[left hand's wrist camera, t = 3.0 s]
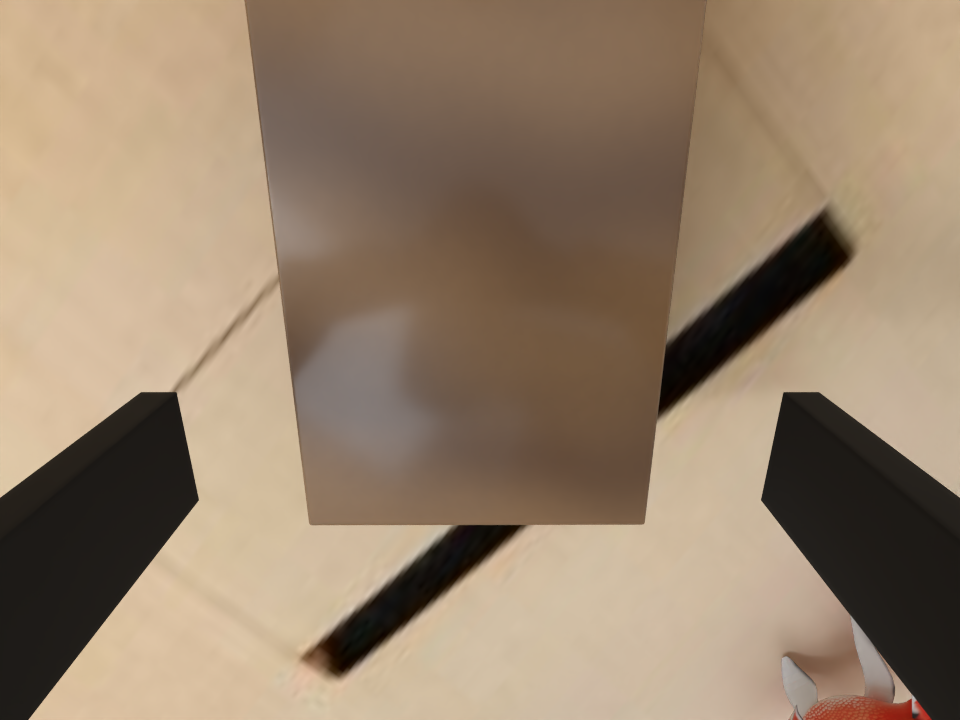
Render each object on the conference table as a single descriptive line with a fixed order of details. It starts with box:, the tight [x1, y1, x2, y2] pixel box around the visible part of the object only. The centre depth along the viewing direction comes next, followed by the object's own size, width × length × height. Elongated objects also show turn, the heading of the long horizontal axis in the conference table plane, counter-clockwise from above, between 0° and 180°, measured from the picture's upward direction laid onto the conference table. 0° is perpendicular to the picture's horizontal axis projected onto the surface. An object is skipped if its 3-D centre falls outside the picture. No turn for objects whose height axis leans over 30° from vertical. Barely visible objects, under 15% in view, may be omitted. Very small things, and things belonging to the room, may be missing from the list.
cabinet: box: [245, 0, 707, 525], centre depth 17 cm, size 21×10×8 cm, turn 0°
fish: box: [781, 615, 932, 720], centre depth 25 cm, size 11×16×10 cm
